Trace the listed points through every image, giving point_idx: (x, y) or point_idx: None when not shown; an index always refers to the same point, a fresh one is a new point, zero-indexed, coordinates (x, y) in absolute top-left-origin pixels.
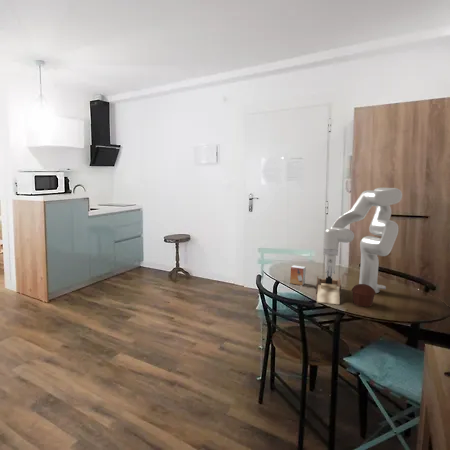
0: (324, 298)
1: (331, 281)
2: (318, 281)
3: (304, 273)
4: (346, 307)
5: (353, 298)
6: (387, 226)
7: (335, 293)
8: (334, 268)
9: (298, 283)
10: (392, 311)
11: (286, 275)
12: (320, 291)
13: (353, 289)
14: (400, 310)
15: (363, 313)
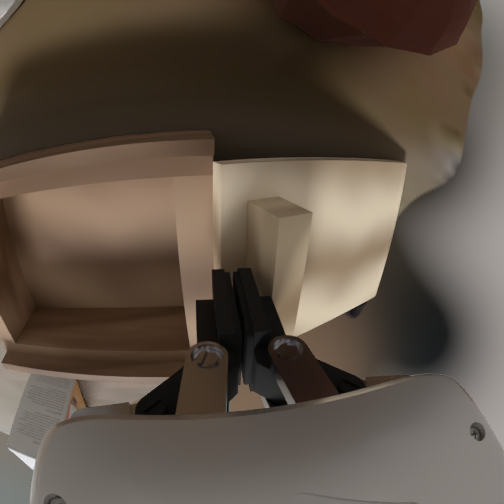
0: (365, 266)
1: (260, 303)
2: (80, 357)
3: (37, 425)
4: (426, 124)
5: (346, 39)
6: None
7: (327, 198)
8: (501, 451)
9: (80, 397)
10: None
11: (6, 409)
12: (303, 317)
13: (426, 39)
14: None
15: (472, 63)
